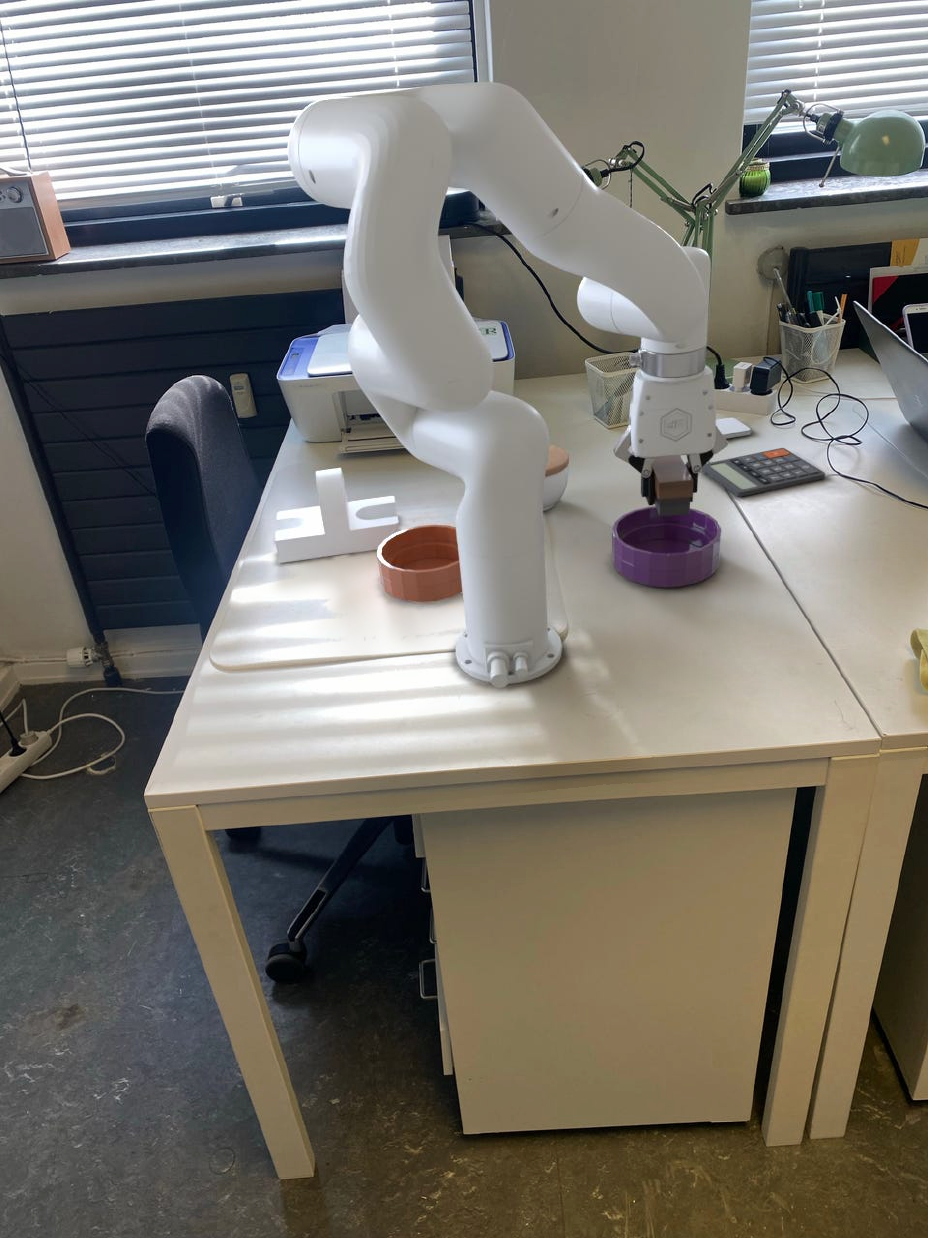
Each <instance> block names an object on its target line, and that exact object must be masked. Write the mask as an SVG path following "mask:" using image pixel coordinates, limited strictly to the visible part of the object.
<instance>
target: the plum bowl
mask: <svg viewBox="0 0 928 1238" xmlns="http://www.w3.org/2000/svg"><path fill="white" fill-rule="evenodd" d="M722 531H723V529H722V527H721V525H720V523H719V521H718V520H717V519H715V518H714V517H713V516H711V515H710V514H708V513H706V512H704V511H702V510H698V509H696V508H691V507H690V514H683V515H671V516H659V514H658V511H657V509H656V507H655V505H651V506H646V507H642V508H637V509H634V510H631V511H629V512H627V513H624V514H623V515H621V516H620V517H619V518H618V519H617V520H615V521H614V524H613V525H612V529H611V561H612V565H613V569H615V570H616V571H617V573H619V574H620V575H621V576H622V577H624V578H627V579H628V580H630V581H632V582H634V583H638V584H641V585H645V586H649V587H654V588H655V587H656V588H679V587H685V586H689V585H693V584H696V583H700V582H701V581H704V580H706V579H707V578H709V577H711V576H712V575H713V574H714V573H715V572H717V569H719V564H720V556H721V544H722Z"/></svg>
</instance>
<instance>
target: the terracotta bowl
mask: <svg viewBox="0 0 928 1238" xmlns="http://www.w3.org/2000/svg"><path fill="white" fill-rule="evenodd" d="M376 551H377V552H376V559H377V565H378V571H379V577H380V578H379V579H380V582H381V586H382V588H383V590H384V591H385V592H386V593H387V594H389V595H390V596H391V597H394V598H395V599H399V600H402V601H406V602H407V601H408V602H417V603H426V602H437V601H441V600H446V599H450V598H453V597H454V596H457V595H459V594H461V593H463V591H462V581H461V572H460V562H459V552H458V543H457V535H456V526H451V525H446V524H445V525H444V524H427V525H425V524H424V525H417V526H413V527H409V528H406V529H403V530H400V532H397V533H395V534H393V535H391V536H390V537H388V538H387V539H385V540H384V541H383V542H382V543H381V545H380V546H379V547H378V550H376Z"/></svg>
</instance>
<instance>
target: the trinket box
mask: <svg viewBox="0 0 928 1238" xmlns="http://www.w3.org/2000/svg"><path fill="white" fill-rule="evenodd" d="M569 463H570V455H569V453H568V452H567V451H566V450H565V448H562V447H560V446H557V445H553V444H550V447H549V455H548V461H547V467H546V473H545V479H544V489H543V512H545V511H548V510H551V509H552V508H554V506H555V505H556V503H557V502H558V501H560V499H561V498H562V497H563V495H564V493H565V491H566V489H567V485H568V481H569Z"/></svg>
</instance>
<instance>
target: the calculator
mask: <svg viewBox="0 0 928 1238" xmlns="http://www.w3.org/2000/svg"><path fill="white" fill-rule="evenodd" d="M701 472H704V473H705V474H706V475H708V476H709V477H711V479H713V480H715V481H716V482H717V483H719V484H720V485H721V486H722V487H724V488H725V489H727V490H728V491H729V492H731V493H732V494H733V495H735V496H736V497H739V498H740V497H746V496H750V495H754V494H759V493H762V492H763V493H764V492H769V491H773V490H777V489H783V488H786V487H791V486H795V485H800V484H801V485H802V484H805V483H810V482H815V481H819V480H823V479H825V478H826V472H824V471H823V470H821V469H820V468H818V467H816V466H815V465H813V464H811V463H810V462H808V461H806V460H805V459H803V458H801V457H799V456H798V455H797V454H795V453H793V452H792V451H790V450H788V449H787V448H785V447H779V448H773V449H769V450H764V451H760V452H755V453H751V454H745V455H741V456H735V457H731V458H726V459H722V460H721V459H720V460H716V461H711V462H707V463H706V464H705V465H704V466H703V467H702V470H701Z"/></svg>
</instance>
